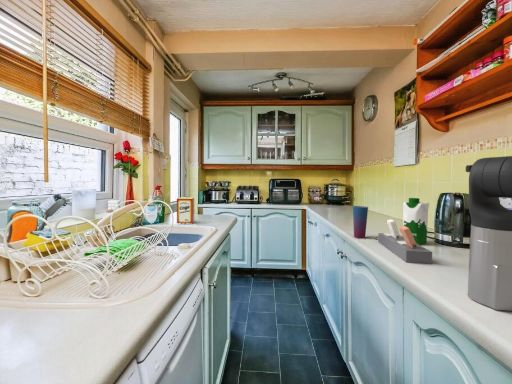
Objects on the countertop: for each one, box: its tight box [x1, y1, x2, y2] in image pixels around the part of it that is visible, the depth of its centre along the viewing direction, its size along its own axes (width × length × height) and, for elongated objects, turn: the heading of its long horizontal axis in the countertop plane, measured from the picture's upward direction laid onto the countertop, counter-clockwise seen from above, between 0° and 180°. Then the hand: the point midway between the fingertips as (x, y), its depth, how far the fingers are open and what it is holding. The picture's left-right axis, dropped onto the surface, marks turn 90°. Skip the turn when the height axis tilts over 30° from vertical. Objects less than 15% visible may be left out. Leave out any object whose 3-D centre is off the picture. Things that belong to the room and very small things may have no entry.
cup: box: [352, 205, 369, 239], centre depth 121 cm, size 7×7×15 cm
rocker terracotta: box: [398, 225, 417, 248], centre depth 89 cm, size 4×2×7 cm, turn 172°
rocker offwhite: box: [386, 219, 401, 239], centre depth 102 cm, size 4×2×7 cm, turn 172°
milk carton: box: [402, 197, 430, 246], centre depth 111 cm, size 9×9×20 cm
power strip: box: [377, 232, 433, 265], centre depth 101 cm, size 35×8×4 cm, turn 172°
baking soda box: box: [176, 196, 195, 224], centre depth 157 cm, size 10×6×16 cm
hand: (467, 168), depth 80 cm, fingers closed
